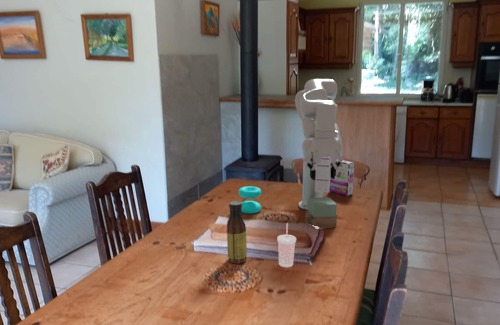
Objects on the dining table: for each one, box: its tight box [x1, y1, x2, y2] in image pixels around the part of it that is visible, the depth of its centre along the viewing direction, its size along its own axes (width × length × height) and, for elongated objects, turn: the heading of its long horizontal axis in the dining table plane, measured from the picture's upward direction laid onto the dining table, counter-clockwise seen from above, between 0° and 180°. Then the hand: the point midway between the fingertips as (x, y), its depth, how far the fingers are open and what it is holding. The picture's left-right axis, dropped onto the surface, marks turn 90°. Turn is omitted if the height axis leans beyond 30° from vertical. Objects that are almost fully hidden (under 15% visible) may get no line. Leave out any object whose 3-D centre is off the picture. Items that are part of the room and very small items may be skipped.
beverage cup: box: [276, 222, 297, 268], centre depth 141 cm, size 6×6×14 cm
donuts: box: [238, 185, 262, 214], centre depth 192 cm, size 10×10×10 cm
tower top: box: [307, 196, 338, 217], centre depth 176 cm, size 9×9×5 cm
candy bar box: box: [329, 159, 356, 197], centre depth 218 cm, size 11×5×16 cm, turn 43°
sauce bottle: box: [226, 200, 248, 265], centre depth 142 cm, size 7×6×20 cm
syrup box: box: [315, 156, 331, 194], centre depth 173 cm, size 6×6×14 cm
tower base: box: [304, 210, 338, 230], centre depth 177 cm, size 9×9×5 cm
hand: (322, 178), depth 173 cm, fingers closed on syrup box, 7 cm apart
